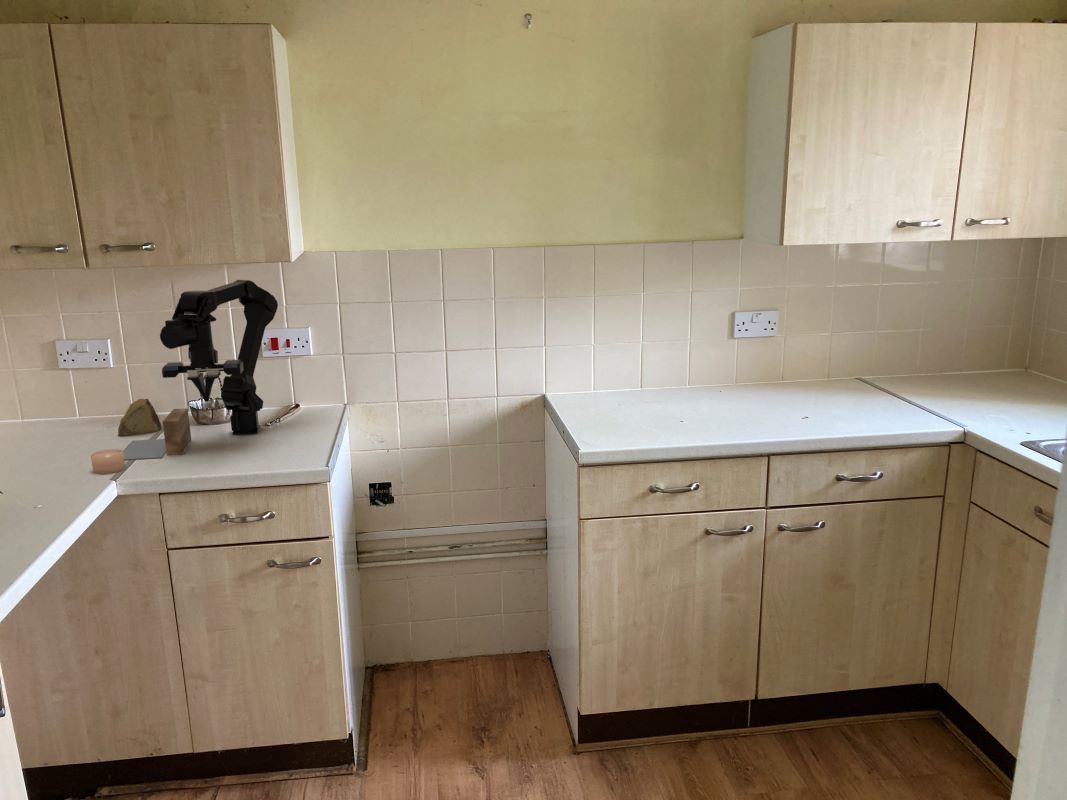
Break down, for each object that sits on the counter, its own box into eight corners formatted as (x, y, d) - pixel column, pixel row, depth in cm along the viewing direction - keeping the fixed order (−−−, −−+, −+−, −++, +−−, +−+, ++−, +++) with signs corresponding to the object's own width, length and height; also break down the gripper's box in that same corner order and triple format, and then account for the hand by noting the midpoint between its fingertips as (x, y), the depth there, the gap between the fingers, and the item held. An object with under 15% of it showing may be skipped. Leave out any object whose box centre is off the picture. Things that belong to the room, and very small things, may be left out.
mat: (176, 439, 224) (176, 438, 224) (161, 458, 209) (161, 457, 209) (132, 441, 222) (132, 440, 222) (114, 461, 207) (114, 459, 207)
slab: (191, 440, 223) (187, 408, 220) (181, 455, 211) (177, 420, 209) (177, 441, 222) (173, 408, 220) (166, 455, 211) (162, 421, 208)
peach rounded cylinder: (128, 463, 205) (126, 448, 204) (120, 473, 199) (118, 457, 197) (98, 465, 204) (96, 450, 203) (88, 475, 197) (86, 459, 196)
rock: (108, 431, 223) (145, 425, 223) (109, 402, 227) (146, 396, 227) (128, 444, 233) (164, 439, 233) (129, 416, 237) (165, 411, 237)
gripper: (243, 334, 220) (249, 391, 224) (168, 337, 217) (175, 395, 221) (237, 342, 210) (243, 402, 214) (158, 345, 207) (165, 406, 211)
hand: (207, 401), depth 215 cm, fingers closed
